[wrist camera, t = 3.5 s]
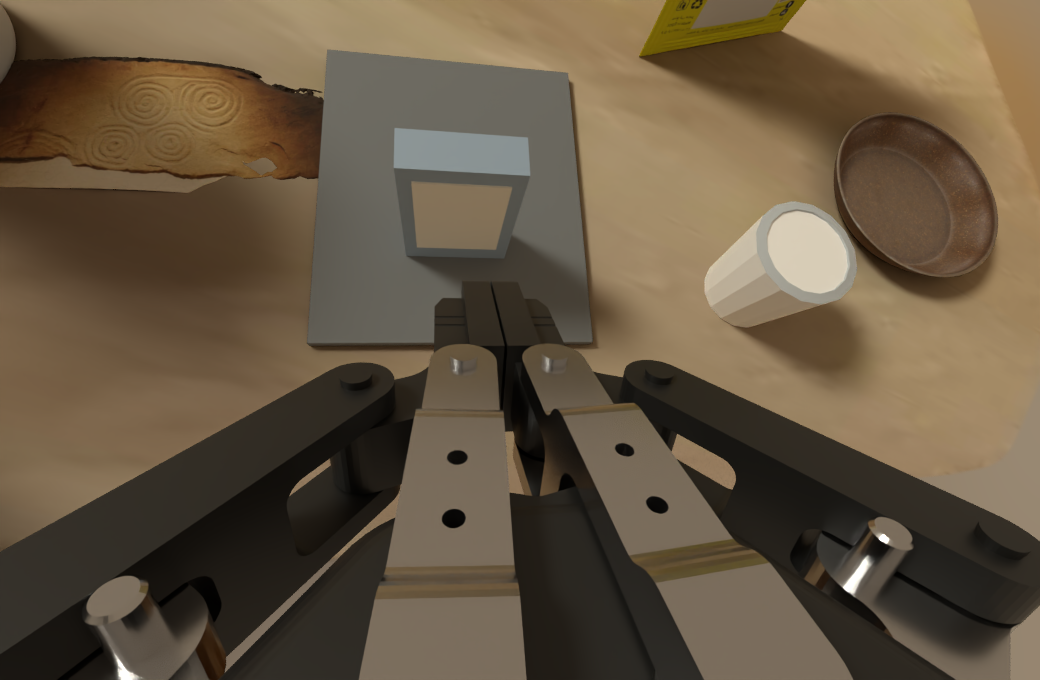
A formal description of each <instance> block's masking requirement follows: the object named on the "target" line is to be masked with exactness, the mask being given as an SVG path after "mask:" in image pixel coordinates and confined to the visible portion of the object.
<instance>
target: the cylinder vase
mask: <svg viewBox="0 0 1040 680" xmlns="http://www.w3.org/2000/svg"><path fill="white" fill-rule="evenodd" d="M15 51H16V38H15V32H14V29H13V25H12V23H11V20H10V18H9V16H8V14H7V13H6V11H5V9H4V8H3V7H2V5H1V4H0V83H1V82H2V80H3V79H4V78H5V76H6V75H7V73H8V71H9V69H10V68H11V64H12V63H13V61H14V57H15Z"/></svg>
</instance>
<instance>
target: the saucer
mask: <svg viewBox="0 0 1040 680" xmlns="http://www.w3.org/2000/svg"><path fill="white" fill-rule="evenodd" d="M834 191H835V197H836V201H837V205H838V208H839V211H840V214H841V216H842V218H843V220H844V222H845V224H846V226H847V227H848V229H849V230H850V232H851V233H852V234H853V235H854V237H855V238H856V239H857V240H858V241H859V242H860V243H861V244H862V245H863V246H864V247H865V248H866V249H868V250H869V251H870V252H871V253H873V254H874V255H876V256H877V257H879V258H880V259H882V260H884V261H885V262H887V263H889V264H891V265H893V266H896V267H898V268H901V269H903V270H906V271H909V272H913V273H917V274H922V275H927V276H934V277H955V276H960V275H963V274H966V273H969V272H971V271H973V270H974V269H976V268H977V267H979V266H980V265H981V264H982V263H983V262H984V261H985V260H986V259H987V258H988V256H989V255H990V253H991V251H992V249H993V247H994V245H995V241H996V237H997V231H998V213H997V206H996V202H995V198H994V196H993V193H992V190H991V187H990V185H989V183H988V181H987V179H986V177H985V175H984V173H983V172H982V170H981V168H980V167H979V165H978V164H977V163H976V161H975V160H974V158H973V157H972V156H971V155H970V154H969V152H968V151H967V150H966V149H965V148H964V147H963V146H962V145H961V144H960V143H959V142H958V141H957V140H956V139H954V138H953V137H952V136H950V135H949V134H948V133H946V132H945V131H943V130H942V129H940V128H939V127H937V126H935V125H934V124H932V123H930V122H928V121H926V120H923V119H921V118H918V117H915V116H912V115H906V114H902V113H893V112H888V113H879V114H875V115H871V116H868V117H866V118H864V119H862V120H860V121H859V122H857V123H856V124H855V125H854V126H853V127H852V128H851V129H850V130H849V131H848V132H847V134H846V135H845V137H844V138H843V141H842V143H841V145H840V148H839V151H838V154H837V158H836V162H835V168H834Z"/></svg>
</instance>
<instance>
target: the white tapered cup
mask: <svg viewBox="0 0 1040 680" xmlns="http://www.w3.org/2000/svg"><path fill="white" fill-rule="evenodd" d="M856 272H857V265H856V256H855V250H854V248H853V246H852V243H851V241H850V239H849V237H848V235H847V233H846V231H845V230H844V229H843V228H842V227H841V226H840V225H839V224H838V223H837V222H836V221H835V219H834V218H833V217H832V216H831V215H829V214H827V213H826V212H824V211H822V210H820V209H819V208H817V207H815V206H813V205H810V204H805V203H800V202H795V201H792V202H787V203H783V204H778V205H775V206H774V207H773V208H772V209H770V210H769V211H768V212H767V213H766V214H764V215H763V216H762V217H761V218H760V219H759V220H758V221H757V222H756V223H755V224H754V225H753V226H752V227H751V228H750V229H749V230H748V231H747V232H746V233H745V234H744V235H743V236H742V237H741V238H740V239H739V240H738V241H736V242H735V243H734V244H733V245H732V246H731V247H730V248H729V249H728V250H727V251H726V252H725V253H724V254H723V255H722V256H721V257H720V258H719V259H718V260H717V261H716V262H715V263H714V264H713V265H712V266H711V267H710V268H709V270H708V273H707V275H706V277H705V295H706V297H707V300H708V302H709V305H710V307H711V308H712V309H713V310H714V312H715V313H716V314H717V315H718V316H719V317H720V318H721V319H723V320H724V321H726V322H728V323H730V324H731V325H733V326H739V327H746V328H748V327H752V326H755V325H759V324H762V323H765V322H768V321H772V320H775V319H778V318H781V317H785V316H788V315H791V314H794V313H797V312H801V311H804V310H807V309H810V308H813V307H817V306H820V305H823V304H826V303H829V302H833V301H836V300H839V299H840V298H841V297H842V296H843V295H844V294H845V293H846V292H847V291H848V290H849V289H850V288H851V287H852V285H853V282H854V278H855V275H856Z"/></svg>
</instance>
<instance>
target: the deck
mask: <svg viewBox="0 0 1040 680" xmlns="http://www.w3.org/2000/svg"><path fill="white" fill-rule="evenodd" d="M394 174H395V181H396V188H397V195H398V202H399V209H400V216H401V223H402V230H403V237H404V244H405V251H406V256H425V257H463V258H501V259H504V258H505V254H506V251H507V248H508V245H509V242H510V239H511V235H512V232H513V229H514V226H515V223H516V220H517V216H518V213H519V210H520V207H521V204H522V201H523V198H524V194H525V191H526V188H527V185H528V182H529V179H530V162H529V146H528V138H527V137H513V136H500V135H486V134H472V133H458V132H444V131H430V130H416V129H402V128H395V131H394Z"/></svg>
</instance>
